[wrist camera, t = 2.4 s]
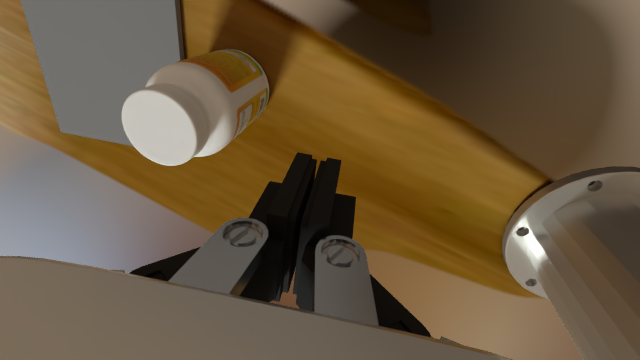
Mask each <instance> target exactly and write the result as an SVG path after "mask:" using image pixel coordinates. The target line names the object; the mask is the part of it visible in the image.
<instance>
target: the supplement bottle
mask: <svg viewBox="0 0 640 360" xmlns="http://www.w3.org/2000/svg"><path fill="white" fill-rule="evenodd" d="M268 99H269V84H268V80H267V77H266V75H265V73H264V71H263V69H262V67H261V66H260V65H259V64H258V62H257V61H256V60H255V59H253V58H252V57H251V56H250V55H248V54H246V53H244V52H242V51H239V50H235V49H223V50H217V51H214V52H211V53H207V54H203V55H200V56H196V57H192V58H188V59H185V60H182V61H178V62H175V63H172V64H169V65H167V66H164V67H162V68H160V69H159V70H157V71H156V72H155V73H154V74H153V75H152V76H151V77H150V79H149V80H148V82H147V84H146V86H145V88H143V89H140V90H138V91H136V92H134V93H132V94H131V95H130V96H129V97H128V98H127V99H126V101H125V102H124V105H123V108H122V124H123V127H124V131H125V133H126V135H127V137H128V138H129V140H130V142H131V143H132V144H133V146H134V147H135V148H136V149H137V150H138V151H139V152H140V153H141V154H142V155H144V156H145V157H147V158H148V159H150V160H152V161H154V162H156V163H159V164H162V165H167V166H175V165H180V164H183V163H185V162H187V161H188V160H190V159H191V158H192V157H202V156H208V155H211V154H214V153H216V152H218V151H220V150H221V149H222V148H224V147H225V146H226V145H227V144H228V143H230V142H231V141H232V140H233V139H234V138H235V137H236V136H237V135H238V134H239V133H241V132H242V131H243V130H244V129H245V128H246V127H247V126H248V125H249V124H251V123H252V122H253V121H254V120H255V119H256V118H257V117H258V116H259V115H260V114H261V113H262V112H263V110H264V109H265V107H266V105H267V102H268Z"/></svg>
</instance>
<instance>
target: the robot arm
mask: <svg viewBox="0 0 640 360" xmlns="http://www.w3.org/2000/svg"><path fill="white" fill-rule="evenodd" d="M316 163H317V160H316V159H312V155H309V154H303V153H297V154H296V156H295V158H294V160H293V162H292V164H291V166H290V168H289V170H288V172H287V174H286V176H285V178H284V180H283V182H282V183H277V182H272V181H270V182H269V183H268V185H267V187H266V188H265V190H264V192H263V194H262V195H261V197H260V199H259V201H258V202H257V204H256V206H255V208H254V209H253V211H252V213H251V215H250V216H249V218H237V219H232V220H230V221H228V222H226V223H224V224H223V225H222V226H220V228H219V229H218V230H217V231H216V232H215V233H214V234H213V235H212V236H211V237H210V238H209V239H208V240H207V241H206V242H205V243H204V244H203V245H202V246H201V247H199V248H196V249H193V250H190V251H187V252H184V253H181V254H178V255H175V256H172V257H169V258H166V259H163V260H160V261H157V262H154V263H151V264H148V265H145V266H142V267H140V268H138V269H136V270H133V271H132V272H130V273H129V274H128V273H125V271H124V270H107V269H102V268H97V267H92V266H86V265H80V264H74V263H68V262H61V261H56V260H49V259H43V258H31V257H21V256H0V360H512V359H509V358H506V357H503V356H500V355H497V354H494V353H491V352H488V351H484V350H480V349H476V348H472V347H468V346H464V345H461V344H459V343H456V342H454V341H452V340H449V339H447V338H444V337H442V336H441V338H440V339H436V338H433V337H431V335H430V333H429V332H428V330H427V329H426V328H425V327H424V326H423V324H421V323H420V322H419V321H418V320H417V319H416V318H415V317H414V316H413V315H412V314H411V313H410V312H409V311H408V310H407V309H406V308H405V307H404V306H403V305H402V304H401V303H399V302H398V300H396V299H395V298H394V297H393V296H392V295H391V294H390V293H389V292H388V291H387V290H386V289H385V288H384V287H383V286H382V285H381V284H380V283H379V282H378V281H377V280H376V279H375V278H374V277H372V276H371V275H370V274H369V269H368V263H367V257H366V253H365V251H364V249H363V247H362V246H361V245H360V244H359V243H358V242H356V241H355V240H353V239H352V236H353V225H354V213H355V202H356V197H353V196H348V195H342V194H337V193H336V188H337V183H338V177H339V171H340V166H341V160H337V159H332V158H327V160H326V161H321V162H320V165H319V168H318V171H317V174H316V177H315V171H316ZM314 178H315V180H314ZM502 252H503V257H504V260H505V262H506V264H507V267H508V269H509V271H510V273H511V274H512V275H513V277H514V278H515V280H516V281H517V282H518V283H519V284H520V285H521V286H523V287H524V288H525V289H527V290H529V291H531V292H532V293H534V294H536V295H538V296H541V297H544V298H546V299H549V300H550V301H551V303H552V305H553V307H554V308H555V310H556V312H557V314H558V316H559V317H560V319H561V321H562V323H563V324H564V326H565V328H566V329H567V331H568V333H569V335H570V337H571V338H572V340H573V342H574V343H575V345H576V347H577V349H578V351H579V352H580V354H581V356H582V357H583V359H584V360H640V168H636V167H605V168H597V169H591V170H587V171H583V172H580V173H576V174H572V175H570V176H567V177H565V178H563V179H560V180H558V181H555V182H553V183H551V184H550V185H548V186H546V187H544V188H543V189H541V190H539V191H538V192H536V193H535V194H534V195H533V196H531V197H530V198H529V199H528V200H526V201H525V202H524V203H523V204H522V205H521V206H520V207H519V208H518V210H517V211H516V212H515V213H514V214H513V216H512V217H511V219H510V221H509V222H508V224H507V226H506V229H505V232H504V235H503V240H502ZM295 267H296V271H295ZM294 271H295V279H294V288H293V294H297V299H296V304H297V305H298V306H299V308H300V309H297V308H293V307H288V306H283V305H278V304H274V303H269V302H270V301H272V300H274V301H278V302H279V301H280V297H281V294H282V292H287V293H288V291H289V288H290V284H291V281H292V278H293V274H294Z"/></svg>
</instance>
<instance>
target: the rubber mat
mask: <svg viewBox="0 0 640 360" xmlns="http://www.w3.org/2000/svg"><path fill="white" fill-rule="evenodd" d="M21 3H22V7H23V10H24V13H25V16H26V20H27V23H28V26H29V30H30V33H31V36H32V39H33V43H34V46H35V49H36V53H37V56H38V59H39V62H40V66H41V69H42V72H43V75H44V79H45V82H46V85H47V89H48V92H49V95H50V98H51V102H52V105H53V108H54V111H55V115H56V118H57V121H58V125H59V128H60V131H61V132H63V133H68V134H73V135H79V136H84V137H89V138H94V139H99V140H104V141H109V142H115V143H120V144H125V145H130V146H133V144H132V143H131V142H130V140H129V138H128V137H127V135H126V133H125V131H124V127H123V124H122V108H123V105H124V102H125V101H126V99H127V98H128V97H129V96H130V95H131V94H132V93H134V92H136V91H138V90H140V89H143V88H145V86H146V84H147V82H148V80H149V79H150V77H151V76H152V75H153V74H154V73H155V72H156V71H157V70H159V69H160V68H162V67H164V66H167V65H169V64H172V63H175V62H178V61H182V60H185V58H184V46H183V34H182V22H181V11H180V0H21Z"/></svg>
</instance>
